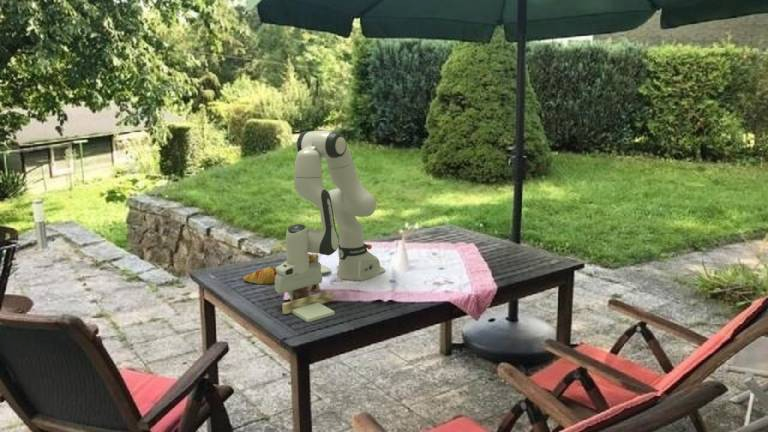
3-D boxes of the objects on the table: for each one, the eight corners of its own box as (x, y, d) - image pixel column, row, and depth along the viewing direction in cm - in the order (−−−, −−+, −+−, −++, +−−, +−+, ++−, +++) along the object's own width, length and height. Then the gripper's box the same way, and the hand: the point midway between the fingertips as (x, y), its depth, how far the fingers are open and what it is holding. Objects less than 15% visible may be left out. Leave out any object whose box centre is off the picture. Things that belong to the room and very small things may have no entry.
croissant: (243, 291, 282) (241, 279, 277) (244, 274, 289) (242, 262, 284) (292, 288, 284) (290, 276, 278) (292, 271, 291) (290, 259, 286)
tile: (318, 305, 256) (318, 302, 256) (334, 314, 247) (334, 311, 247) (291, 312, 249) (291, 309, 249) (307, 322, 240) (307, 319, 240)
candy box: (296, 290, 272) (294, 256, 269) (299, 287, 276) (297, 253, 273) (316, 291, 271) (315, 257, 267) (319, 287, 275) (318, 253, 271)
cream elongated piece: (317, 255, 320) (317, 249, 319) (333, 276, 290) (333, 268, 290) (299, 257, 317) (299, 251, 316) (313, 278, 288) (313, 271, 287)
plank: (330, 299, 262) (330, 290, 261) (332, 300, 261) (332, 291, 260) (282, 313, 249) (282, 303, 248) (284, 314, 248) (284, 304, 247)
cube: (302, 299, 263) (301, 287, 262) (308, 302, 259) (308, 291, 258) (291, 302, 260) (290, 290, 259) (297, 305, 256) (297, 293, 255)
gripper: (316, 258, 264) (317, 290, 268) (271, 268, 253) (273, 301, 256) (324, 262, 260) (325, 294, 263) (279, 272, 248) (281, 306, 251)
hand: (299, 298), depth 259 cm, fingers open, 5 cm apart
